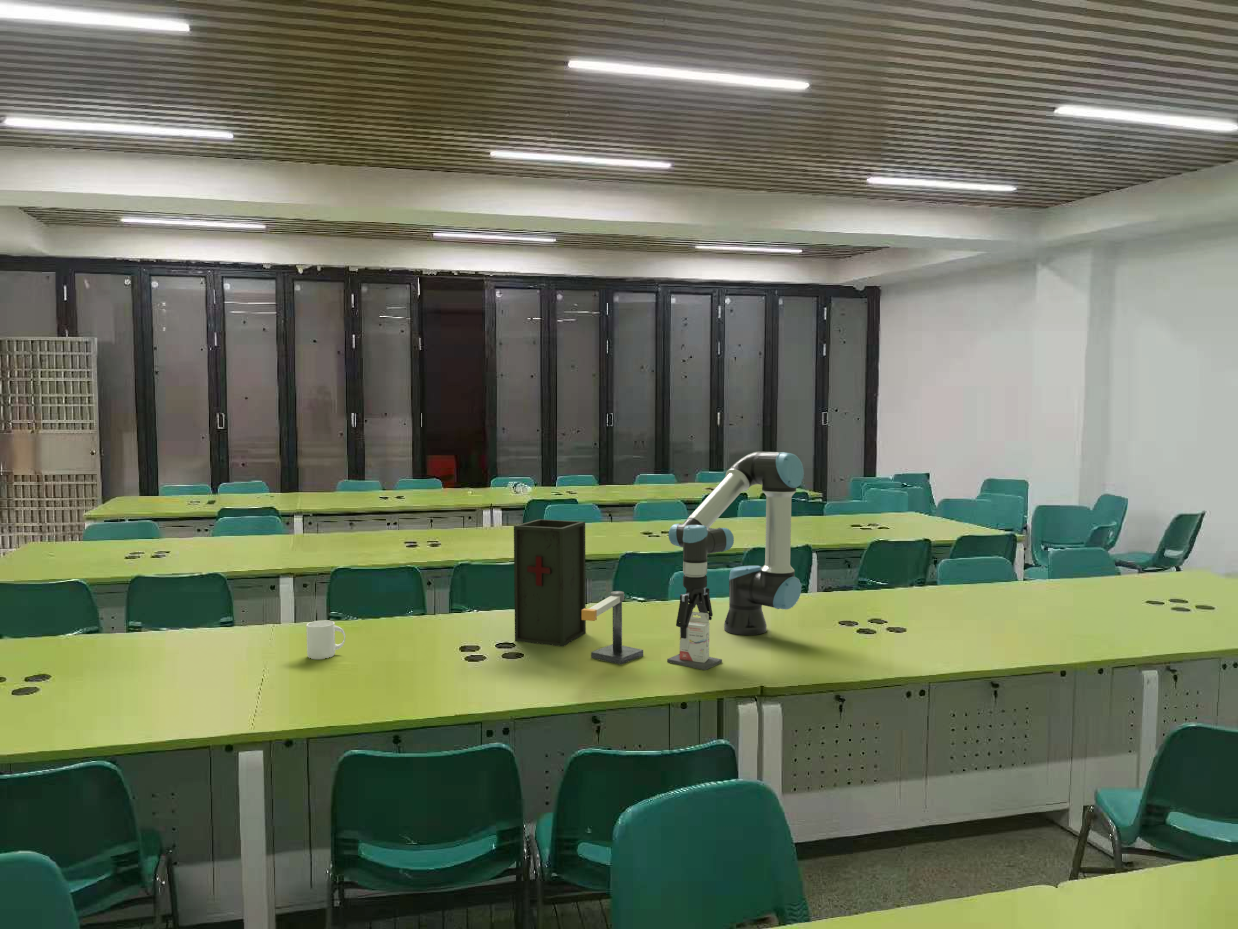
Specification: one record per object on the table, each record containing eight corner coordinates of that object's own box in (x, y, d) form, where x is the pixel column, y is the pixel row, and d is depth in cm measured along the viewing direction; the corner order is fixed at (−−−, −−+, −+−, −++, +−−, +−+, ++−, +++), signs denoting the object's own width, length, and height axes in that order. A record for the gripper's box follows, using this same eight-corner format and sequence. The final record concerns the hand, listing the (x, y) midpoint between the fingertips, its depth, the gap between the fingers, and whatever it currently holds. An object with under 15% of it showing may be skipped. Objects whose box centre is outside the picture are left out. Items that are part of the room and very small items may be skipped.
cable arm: (613, 600, 279) (613, 590, 279) (626, 601, 277) (626, 591, 277) (580, 619, 254) (580, 609, 254) (594, 621, 252) (594, 610, 252)
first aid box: (514, 641, 296) (513, 525, 293) (539, 628, 313) (538, 519, 310) (563, 646, 289) (562, 528, 286) (585, 633, 306) (585, 521, 303)
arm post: (613, 649, 286) (613, 596, 284) (643, 655, 278) (643, 601, 277) (591, 658, 276) (591, 602, 275) (621, 664, 269) (621, 608, 268)
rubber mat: (684, 654, 280) (684, 651, 279) (721, 662, 271) (721, 659, 271) (667, 662, 272) (667, 659, 272) (705, 670, 263) (705, 667, 263)
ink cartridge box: (678, 660, 270) (679, 613, 269) (683, 655, 275) (684, 610, 274) (704, 663, 267) (705, 616, 266) (709, 658, 272) (709, 612, 271)
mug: (348, 656, 279) (347, 623, 278) (309, 661, 273) (308, 628, 272) (343, 649, 286) (342, 617, 286) (305, 654, 281) (304, 622, 280)
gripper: (703, 567, 281) (703, 634, 282) (664, 579, 262) (664, 650, 264) (723, 570, 276) (723, 638, 278) (685, 582, 258) (684, 654, 260)
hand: (694, 644), depth 271 cm, fingers open, 10 cm apart
